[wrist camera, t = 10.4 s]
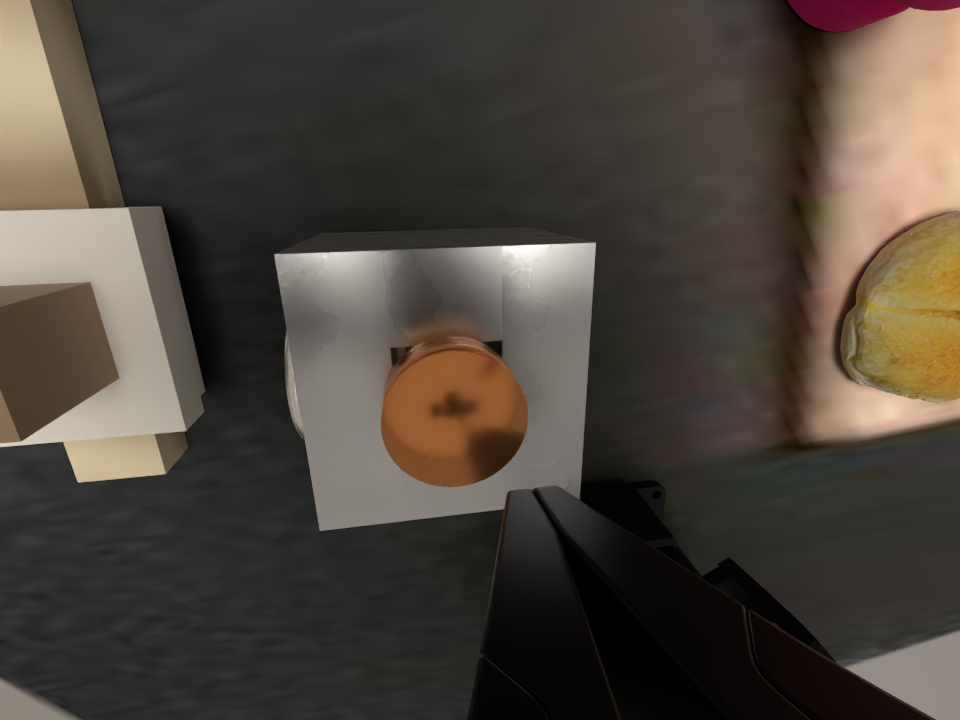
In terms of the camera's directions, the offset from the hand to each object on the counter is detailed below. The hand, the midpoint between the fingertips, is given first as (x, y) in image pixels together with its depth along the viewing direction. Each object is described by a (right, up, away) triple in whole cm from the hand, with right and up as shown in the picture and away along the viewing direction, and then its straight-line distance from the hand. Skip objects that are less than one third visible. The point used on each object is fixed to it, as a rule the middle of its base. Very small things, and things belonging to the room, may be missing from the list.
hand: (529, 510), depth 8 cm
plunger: (-2, +3, +9) cm, 10 cm away
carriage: (-15, +4, +9) cm, 18 cm away
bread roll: (+21, +5, +16) cm, 26 cm away
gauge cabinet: (-3, +4, +12) cm, 13 cm away
